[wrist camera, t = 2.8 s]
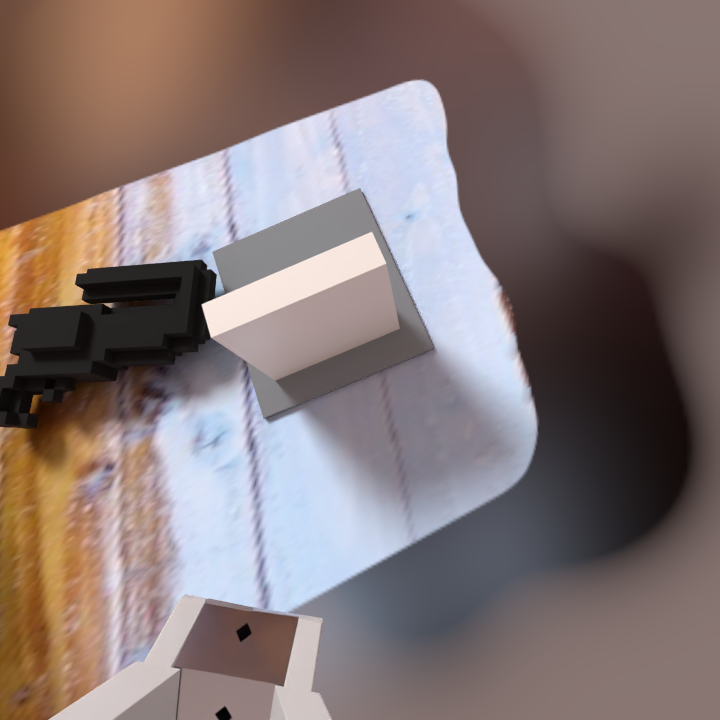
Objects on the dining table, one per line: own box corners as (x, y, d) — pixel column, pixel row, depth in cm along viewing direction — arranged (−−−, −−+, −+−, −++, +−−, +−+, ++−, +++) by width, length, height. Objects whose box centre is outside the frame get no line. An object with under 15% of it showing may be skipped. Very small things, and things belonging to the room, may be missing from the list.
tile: (399, 328, 39) (386, 263, 27) (275, 380, 39) (211, 337, 28) (389, 304, 40) (371, 231, 28) (267, 355, 40) (201, 303, 29)
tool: (181, 417, 34) (200, 246, 39) (-40, 422, 38) (-1, 264, 42) (213, 426, 40) (227, 274, 44) (16, 430, 43) (46, 288, 47)
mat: (433, 349, 38) (433, 347, 38) (265, 418, 39) (263, 417, 38) (360, 190, 44) (360, 188, 43) (214, 253, 44) (212, 251, 44)
